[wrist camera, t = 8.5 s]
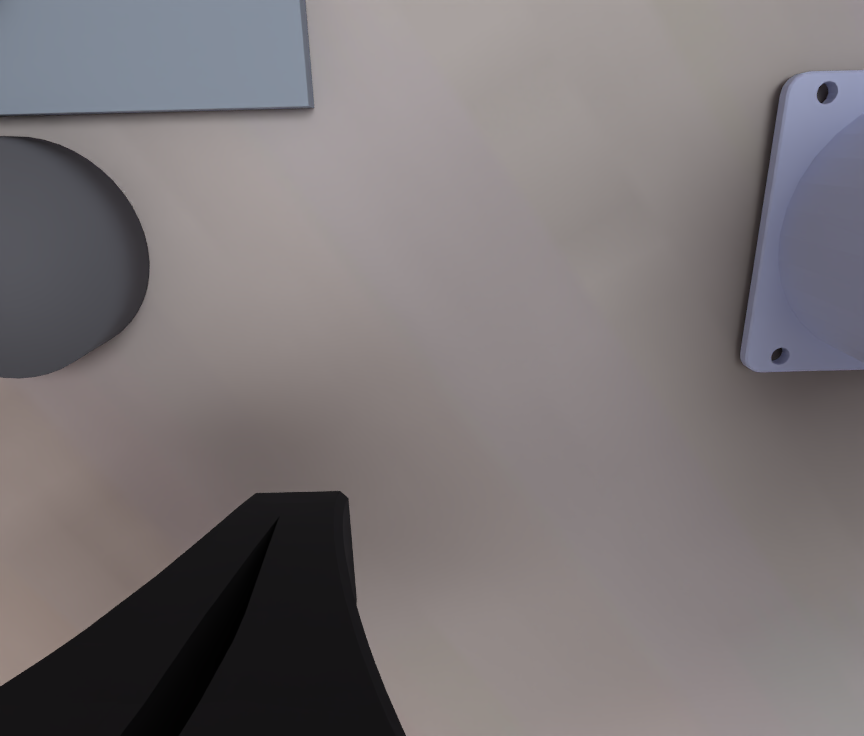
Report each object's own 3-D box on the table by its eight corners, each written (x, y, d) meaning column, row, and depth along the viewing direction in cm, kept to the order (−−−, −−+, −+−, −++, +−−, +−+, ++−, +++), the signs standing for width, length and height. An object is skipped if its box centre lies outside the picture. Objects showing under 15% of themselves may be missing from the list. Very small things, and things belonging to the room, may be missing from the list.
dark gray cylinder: (126, 133, 16) (83, 132, 14) (165, 349, 18) (132, 375, 16) (-100, 139, 16) (-177, 139, 14) (-36, 354, 18) (-94, 381, 16)
